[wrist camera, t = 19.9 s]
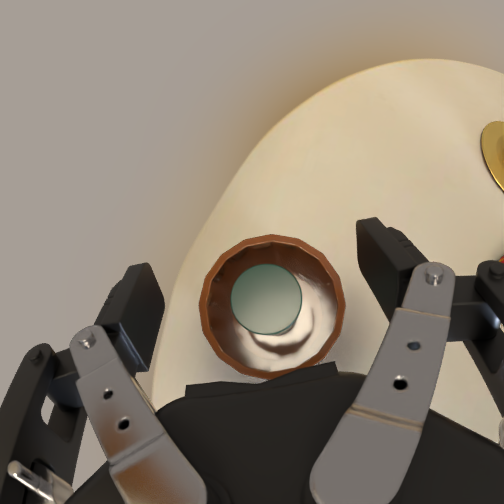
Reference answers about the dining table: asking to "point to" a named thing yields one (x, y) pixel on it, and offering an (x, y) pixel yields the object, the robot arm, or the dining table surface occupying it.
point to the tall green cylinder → (266, 300)
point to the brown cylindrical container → (309, 320)
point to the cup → (494, 149)
